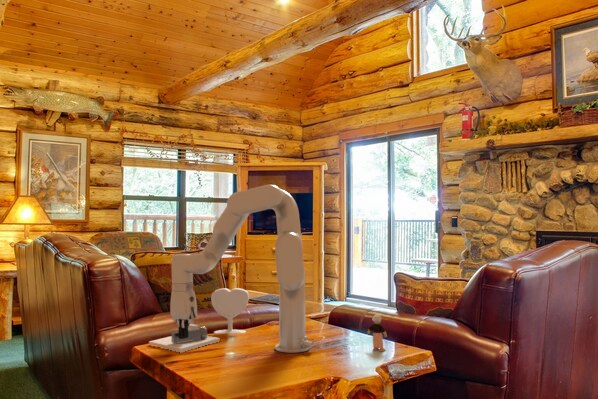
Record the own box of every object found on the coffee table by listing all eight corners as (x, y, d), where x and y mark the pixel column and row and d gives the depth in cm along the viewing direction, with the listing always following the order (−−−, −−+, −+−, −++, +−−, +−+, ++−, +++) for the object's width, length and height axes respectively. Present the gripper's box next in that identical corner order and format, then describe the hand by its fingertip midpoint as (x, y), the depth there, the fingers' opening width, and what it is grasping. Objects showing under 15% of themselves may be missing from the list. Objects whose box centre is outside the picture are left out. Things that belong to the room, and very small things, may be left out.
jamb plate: (219, 341, 188) (219, 327, 188) (180, 352, 173) (180, 337, 173) (188, 335, 199) (188, 322, 199) (148, 345, 183) (149, 330, 184)
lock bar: (204, 336, 189) (204, 325, 189) (208, 338, 186) (208, 327, 186) (170, 341, 181) (171, 330, 181) (174, 343, 178) (174, 332, 178)
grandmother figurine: (389, 349, 175) (388, 314, 176) (386, 352, 172) (386, 315, 172) (368, 347, 178) (368, 312, 179) (365, 350, 175) (365, 314, 176)
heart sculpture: (210, 333, 203) (210, 289, 204) (212, 330, 208) (212, 288, 209) (248, 332, 203) (248, 289, 204) (249, 330, 208) (249, 287, 209)
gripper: (204, 287, 179) (205, 338, 178) (177, 285, 187) (178, 333, 186) (188, 290, 172) (189, 342, 172) (161, 287, 181) (162, 337, 180)
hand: (183, 337), depth 179 cm, fingers closed
